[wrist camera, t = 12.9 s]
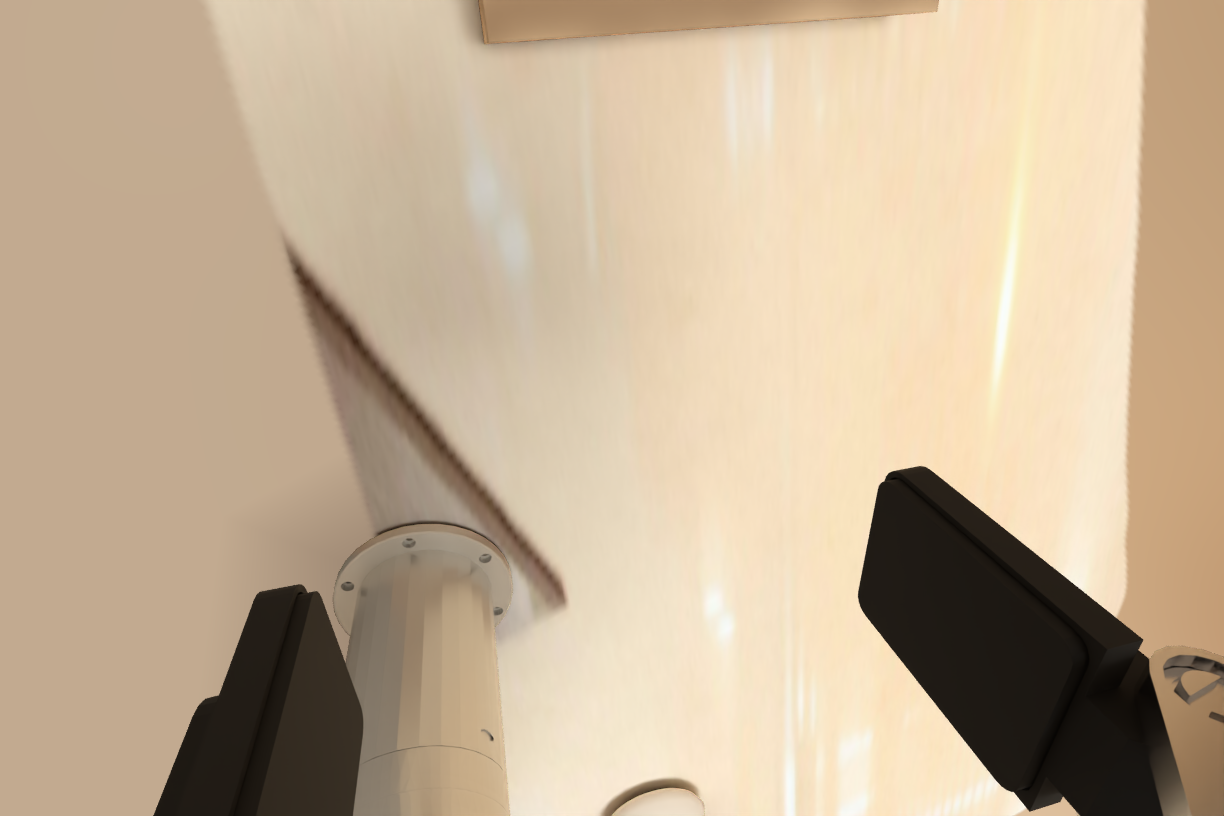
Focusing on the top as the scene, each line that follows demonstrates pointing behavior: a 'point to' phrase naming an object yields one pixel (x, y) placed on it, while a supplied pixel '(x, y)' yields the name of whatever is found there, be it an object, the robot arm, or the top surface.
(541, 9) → the socket block
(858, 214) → the top surface
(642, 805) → the flower in vase
